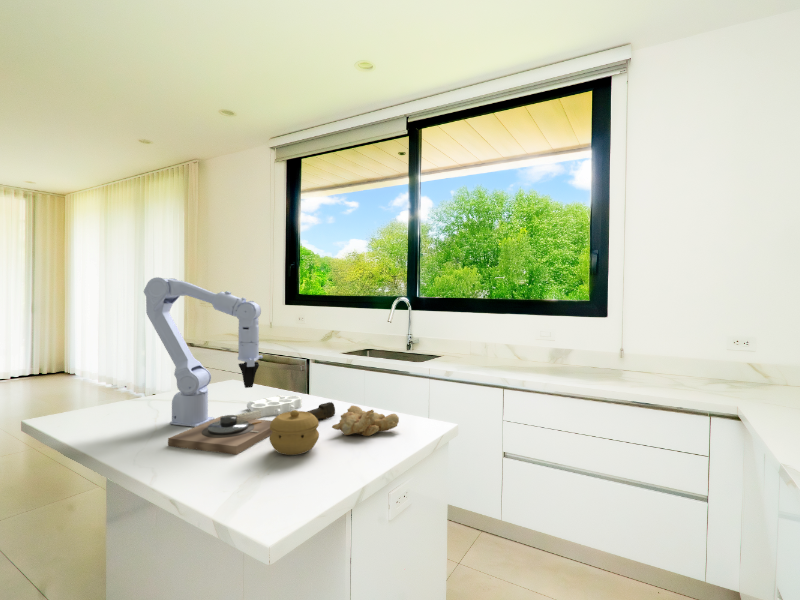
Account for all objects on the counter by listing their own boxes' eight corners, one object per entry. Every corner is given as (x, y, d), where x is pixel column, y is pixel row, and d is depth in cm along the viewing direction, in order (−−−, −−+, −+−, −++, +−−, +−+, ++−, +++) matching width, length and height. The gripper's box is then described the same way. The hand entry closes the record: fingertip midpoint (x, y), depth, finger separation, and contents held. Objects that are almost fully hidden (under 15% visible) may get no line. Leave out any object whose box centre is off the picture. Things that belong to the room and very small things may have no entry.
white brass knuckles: (284, 401, 150) (310, 409, 141) (237, 412, 137) (262, 421, 127) (284, 392, 150) (310, 399, 141) (237, 402, 137) (262, 410, 127)
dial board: (168, 446, 105) (168, 437, 105) (221, 422, 124) (222, 415, 124) (236, 454, 100) (236, 445, 100) (281, 428, 119) (281, 421, 119)
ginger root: (320, 428, 116) (326, 398, 117) (361, 428, 127) (367, 402, 128) (357, 444, 105) (364, 411, 106) (399, 443, 117) (404, 414, 118)
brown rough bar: (290, 432, 117) (290, 415, 117) (281, 429, 119) (282, 412, 119) (340, 417, 132) (340, 402, 132) (332, 414, 134) (332, 400, 134)
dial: (217, 437, 105) (217, 425, 105) (201, 428, 112) (201, 417, 112) (268, 424, 115) (268, 414, 115) (251, 417, 122) (251, 407, 122)
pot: (275, 443, 108) (275, 404, 108) (321, 442, 109) (321, 403, 108) (264, 461, 96) (264, 417, 96) (315, 460, 97) (316, 417, 97)
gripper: (265, 343, 120) (265, 391, 120) (260, 338, 133) (259, 381, 133) (239, 344, 117) (239, 393, 117) (236, 339, 130) (236, 383, 131)
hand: (248, 387), depth 125 cm, fingers closed
